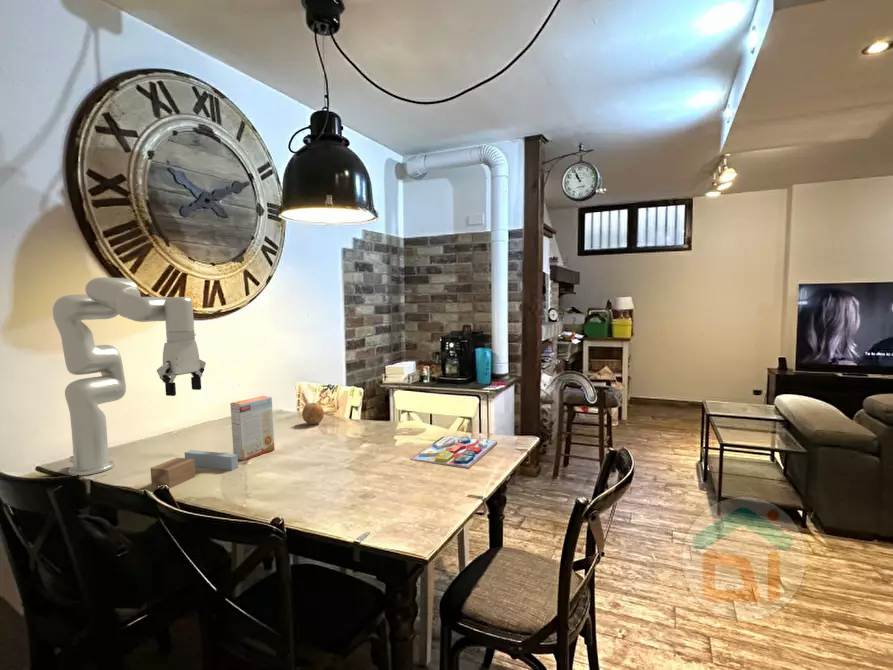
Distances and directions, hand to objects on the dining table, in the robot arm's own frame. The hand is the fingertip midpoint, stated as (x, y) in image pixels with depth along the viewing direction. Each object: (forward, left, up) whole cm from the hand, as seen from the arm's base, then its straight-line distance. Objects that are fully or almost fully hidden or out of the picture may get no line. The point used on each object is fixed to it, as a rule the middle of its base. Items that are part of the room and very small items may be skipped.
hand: (184, 392), depth 145 cm
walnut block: (-7, +1, -29) cm, 30 cm away
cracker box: (0, +30, -30) cm, 42 cm away
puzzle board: (+72, +53, -30) cm, 94 cm away
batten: (-6, +15, -29) cm, 34 cm away
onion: (-3, +74, -30) cm, 80 cm away
